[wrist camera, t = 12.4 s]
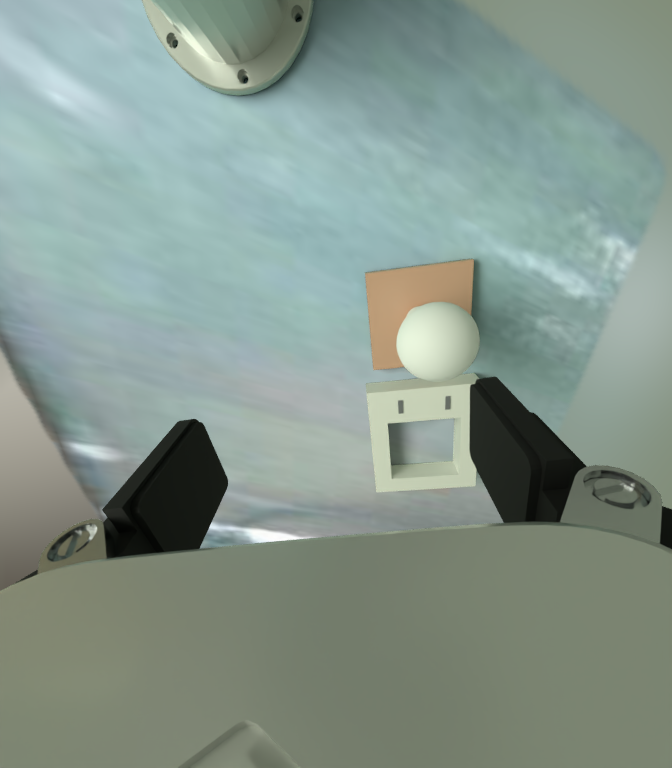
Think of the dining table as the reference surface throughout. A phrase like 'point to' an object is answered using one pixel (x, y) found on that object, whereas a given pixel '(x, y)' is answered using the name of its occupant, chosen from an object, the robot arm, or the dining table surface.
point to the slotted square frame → (418, 405)
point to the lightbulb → (437, 341)
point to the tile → (411, 300)
